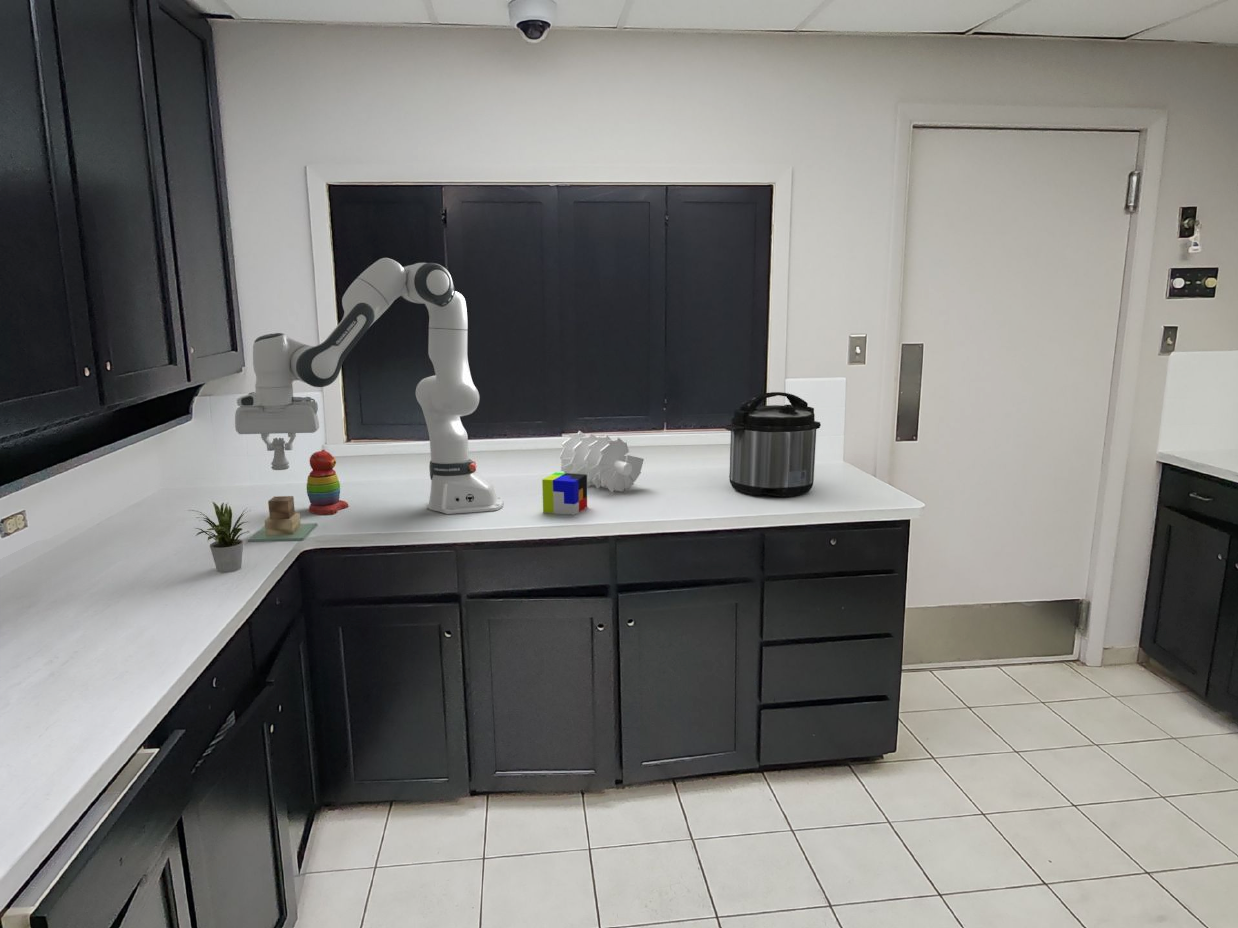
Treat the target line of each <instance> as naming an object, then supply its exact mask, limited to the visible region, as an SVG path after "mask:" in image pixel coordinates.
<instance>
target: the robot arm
mask: <svg viewBox="0 0 1238 928" xmlns="http://www.w3.org/2000/svg"><path fill="white" fill-rule="evenodd" d="M453 281H454V280H453V279H452V276H451V274H450V272H449V270H447V268H445V267H444V266H442V265H441V264H439V263H436V262H416V263H414V264H409V265H403V266H402V265H401V263H399V262H398V261H396V260H394V259H392V258H389V257H383V258H382V257H381V258H380V259H378V260H376V261H375V262H373V264H371V265H369V266H368V267H367V268H366V269H365V270H364V271H362V272H361V273H360V275H358V276H357V277H356V278H355V279H354V280H353V282H352V283H351V284H350V285H349V286H348V288H347V289H346V291H345V292H344V294H343V296H342V298H341V305H342V308H343V311H344V313H343V316H342V318H341V321H340V322H339V323H338V324H337V326H336V327H335V328H334V329H333V330H332V332H330V334H329V335H328V336H327V338H326V339H325V340H324V341H323V342H321V343H319V344H318V345H315V346H313V345H309V344H305V343H303V342H300V341H298V340H297V341H296V339H293V338H291V337H289V336H287V335H286V334H285V333H281V332H275V333H268V334H264V335H261V336H258V337H256V339H255V340H254V341H253V345H252V365H253V371H254V372H253V373H255V378H256V379H255V385H254V386H255V391H254V392H249V393H248V394H245V395H243V396H240V397H238V398H237V399H236V405H237V406H238V408H237V409H236V410H235V415H234V426H235V432H237V433H238V435H260V438H261V439H262V441H263V443H264V444H265V445H266V451H268V452H270V451H271V452H274V449H273V448H274V444H273V443H272V441H271V440H270V439H269V437H270V435H271V434H276V435H277V434H287V437H288V438H289V440H288V442H285V444H284V447H285V448H284V451H292V450H293V443H294V440H295V439H296V436H297V434H314V433H316V432H317V431H318V430H319V429H320V423H319V418H318V410H319V409H318V402H317V400H316V399H314V398H312V397H311V396H303V397H301V396H294V387H293V382H295V381H300V382H302V383H304V384H308V385H309V386H311V387H314V388H324V387H327V386H330V385H331V384H332V383H334V382H335V381H336V380H337V379H338V377H339V375H340V371H341V369H342V366H343V364H344V360H345V359H346V357H347V356H348V355H349V353H351V351H352V350H353V348H354V347H355V346H356V345H357V344H358V343H359V341H360V340H361V339H362V337H363V336H364V335H365V333H366V332H367V331H368V330H369V328H370V327H371V326H372V325H373V324H374V323H375V322H376V321H377V320H378V319H379V318H381V316H382V315H383V314H384V313H385V312H386V311H387V310H388V309H389V308H390V307H391V305H392V304H393V303H394V301H395V300H397V299H398V298H400V299H401V300H403V301H405V302H407V303H411V304H424V306H425V307H426V308H427V311H428V316H429V319H428V321H429V322H428V347H427V349H428V352H427V353H428V354H427V355H428V357H429V359H430V361H431V363H432V365H433V366H432V367H433V369H434V373H435V374H434V375H431V376H427V377H424V378H423V379H421V380H420V381H419V382H418V383H417V385H416V389H415V397H416V400H417V402H418V404H419V406H420V407H421V409H422V412H423V413H422V414H423V416H424V419H425V423H426V427H427V432H428V438H429V449H430V451H429V452H430V461H429V477H430V480H431V481H430V483H431V484H430V494H429V499H428V500H429V501H428V505H427V508H428V510H431V511H434V512H438V513H443V514H445V515H453V514H467V513H469V514H470V513H478V512H482V513H483V512H492V511H493V512H494V511H498V510H500V509H502V508H503V506H504V499H503V498H502V497H501V496H497V492H496V489H495V486H494V484H493V483H492V482H491V480H489V479H487V478H486V477H484V476H483V475H482V474H480V473H478V472H477V463H476V461H475V460H472V459H470V458H469V440H468V439H469V437H468V436H469V435H468V433H467V430H466V429H465V427H464V425H463V422H462V421H461V417H465V416H468V415H471V414H473V413H474V412H475V411H476V410H477V408H478V406H479V404H480V392H479V391H478V388H477V387H476V386H475V384H474V381H473V379H472V374H471V370H470V366H469V359H468V358H469V357H468V331H469V330H468V327H469V326H468V324H469V323H468V312H467V311H468V310H467V309H468V308H467V303H466V299H465V297H464V296H463V294H462V293H460V292H458V291H456V288H455V286H454V282H453Z"/></svg>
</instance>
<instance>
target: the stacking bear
mask: <svg viewBox="0 0 1238 928" xmlns="http://www.w3.org/2000/svg"><path fill="white" fill-rule="evenodd" d="M336 464H337V460H336V458H335V457H334V456H333V455H332V454H331V453H330V452H328V451H326V449H322V450H319V451H315V452H313V453H311V455H310V456H309V465H310V469H312V470H311V471H310V472H309V474H308V476H307V481H306V494H307V497H308V500H309V503H310V505H309V507H308V511H309V512H310V513H311V514H316V515H324V516H325V515H326V516H327V515H334V514H337V513H338V511H340V510H343V509H347V508H348V507H349V503H348V502H347V501H346V500H340V494H341V484H340V481H339V478H338V474H337V473H336V470H335V469H334V467H335V466H336Z"/></svg>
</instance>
